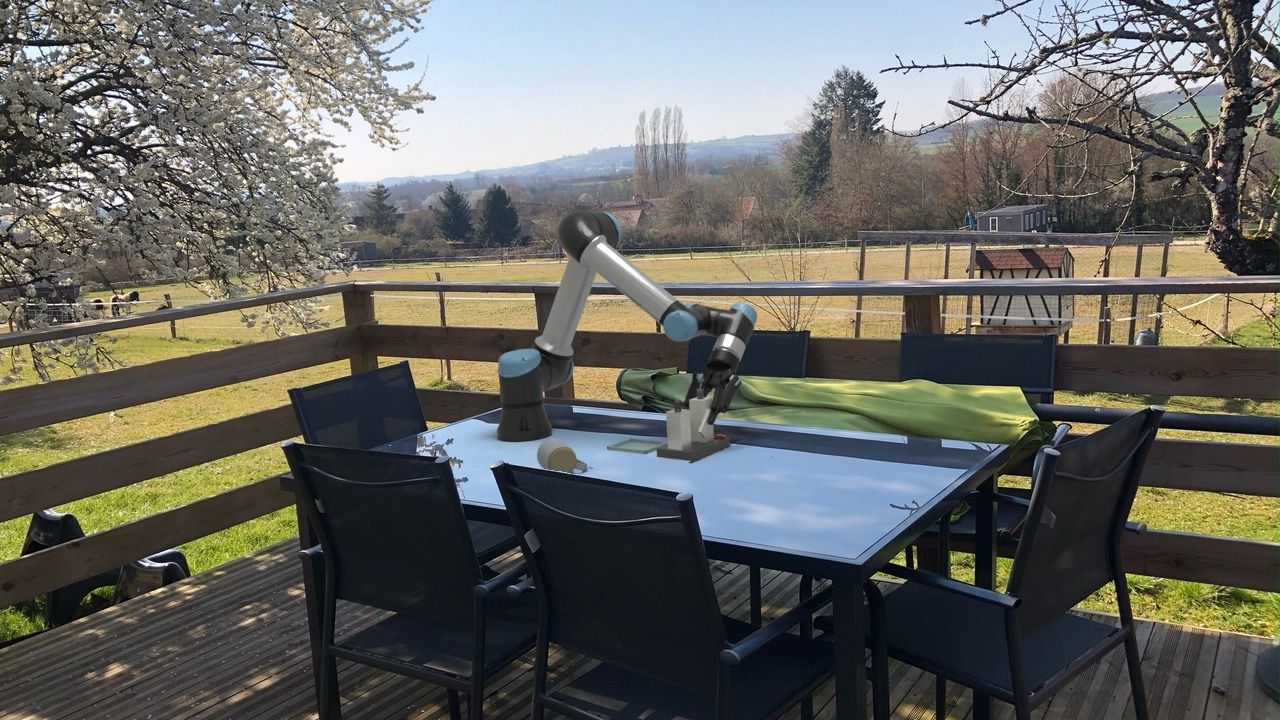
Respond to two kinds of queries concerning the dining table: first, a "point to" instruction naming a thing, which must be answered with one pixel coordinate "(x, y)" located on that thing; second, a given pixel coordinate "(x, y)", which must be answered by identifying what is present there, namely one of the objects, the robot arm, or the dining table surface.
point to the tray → (637, 445)
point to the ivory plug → (700, 417)
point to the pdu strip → (696, 446)
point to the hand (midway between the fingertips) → (693, 433)
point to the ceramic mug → (558, 456)
